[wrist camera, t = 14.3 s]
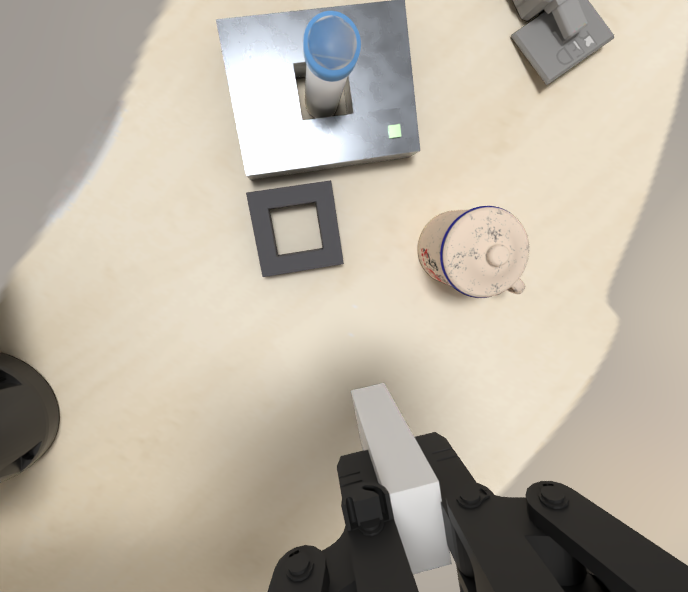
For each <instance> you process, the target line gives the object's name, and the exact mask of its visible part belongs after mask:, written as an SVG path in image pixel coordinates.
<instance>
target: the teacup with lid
mask: <svg viewBox="0 0 688 592" xmlns="http://www.w3.org/2000/svg"><path fill="white" fill-rule="evenodd" d="M418 254H419V259H420V262H421V264H422V266H423V268H424V270H425V271H426V272H427V273H428V274H429V275H430V276H431V277H433V278H434V279H436V280H438V281H440V282H443V283H445V284H447V285H450V286H452V287H454V288H455V289H456V290H457V291H459V292H461V293H462V294H464V295H467V296H470V297H475V298H486V297H492V296H495V295H498V294H500V293H502V292H504V291H506V290H508V291H510V292H512V293H515V294H520V293H522V292H523V290H524V289H525V284H524V283H523V281H522V280H521V279H520V276H521V275H522V273H523V271H524V269H525V267H526V265H527V261H528V257H529V241H528V237H527V233H526V231H525V229H524V227H523V225H522V224H521V222H520V221H519V220H518V219H517V218H516V217H515V216H514V215H512V214H511V213H510V212H508V211H506V210H504V209H502V208H499V207H495V206H481V207H476V208H473V209H470V210H456V211H448V212H444V213H442V214H439V215H438V216H436V217H434V218H433V219H432V220H431V221H430V222H429V223H428V224H427V225H426V226H425V228H424V230H423V231H422V233H421V236H420V239H419V244H418Z"/></svg>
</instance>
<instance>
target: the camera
mask: <svg viewBox="0 0 688 592" xmlns="http://www.w3.org/2000/svg"><path fill="white" fill-rule="evenodd" d="M513 2H514V4H515V6H516V8H517V10H518V13H519V15H520V17H521V19H524V20H527V21H528V20H530V19H531V18H532V17H534V16H535V15H537V14H538V13H540V12H541V11H542V10H545V12H543V13H542V14H541V15H539V16H538V17H536V18H535V19H533V20H532V21H531V22H529V23H528V24H526V25H525V26H523V27H522V28H521V29H519V30H518V31H516V32H515V33H514V34H512V35H511V37H512V39H513V40H514V42H515V43H516V44H517V46H518V47H519V48H520V50H521V51H522V52H523V54H524V55H525V57H526V58H527V59H528V61H529V62H530V63H531V65H532V66H533V68H534V69H535V70H536V72H537V73H538V74H539V76H540V77H541V79H542V80H543V81H544V83H545V84H546V85H548V84H549V83H551V82H552V81H554V80H555V79H557V78H558V77H559V76H561V75H562V74H564V73H565V72H567V71H568V70H570V69H571V68H572V67H574V66H575V65H577V64H578V63H580V62H581V61H582V60H584V59H585V58H587V57H588V56H590V55H591V54H592V53H594V52H595V51H597V50H598V49H600V48H601V47H602V46H604V45H605V44H607V43H608V42H610V41H611V40H612V39H613V38H614V34H613V33H612V32H611V30H610V29H609V28H608V26H607V25H606V24H605V22H604V21H603V20H602V18H601V17H600V16H599V14H598V13H597V11H596V10H595V9H594V7H593V6H592V5H591V3H590V2H589V1H588V0H513Z"/></svg>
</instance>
